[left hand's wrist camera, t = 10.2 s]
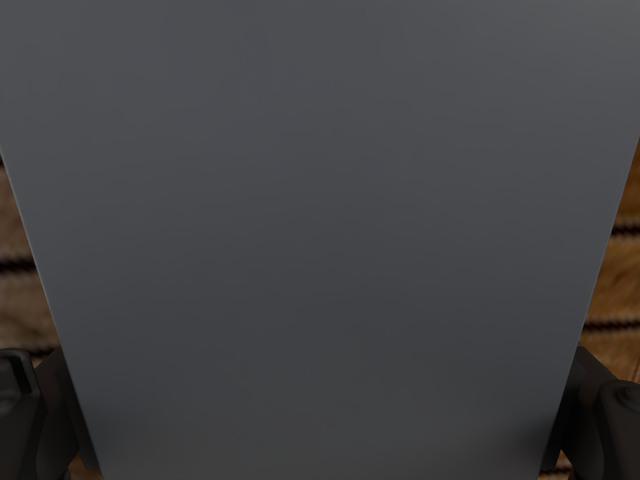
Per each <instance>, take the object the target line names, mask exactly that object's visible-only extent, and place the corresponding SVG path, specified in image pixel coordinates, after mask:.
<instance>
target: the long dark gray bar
mask: <svg viewBox="0 0 640 480" xmlns="http://www.w3.org/2000/svg"><path fill="white" fill-rule="evenodd" d="M639 136H640V0H0V153H1V156H2V159H3V162H4V166H5V169H6V172H7V175H8V178H9V182H10V185H11V188H12V191H13V194H14V198H15V201H16V204H17V207H18V210H19V213H20V217H21V220H22V223H23V226H24V229H25V233H26V236H27V239H28V242H29V245H30V249H31V252H32V255H33V258H34V261H35V264H36V268H37V271H38V274H39V277H40V280H41V284H42V287H43V290H44V293H45V296H46V299H47V303H48V306H49V309H50V312H51V315H52V319H53V322H54V325H55V328H56V331H57V335H58V338H59V341H60V344H61V347H62V350H63V354H64V357H65V360H66V363H67V366H68V370H69V373H70V376H71V379H72V382H73V385H74V389H75V392H76V395H77V398H78V401H79V405H80V408H81V411H82V414H83V417H84V421H85V424H86V427H87V430H88V433H89V436H90V440H91V443H92V446H93V449H94V452H95V456H96V459H97V462H98V465H99V468H100V472H101V475H102V478H103V480H537V479H538V475H539V472H540V469H541V465H542V462H543V459H544V455H545V452H546V449H547V445H548V442H549V438H550V435H551V432H552V428H553V425H554V422H555V418H556V415H557V412H558V408H559V405H560V402H561V398H562V395H563V391H564V388H565V385H566V381H567V378H568V375H569V371H570V368H571V365H572V361H573V358H574V355H575V351H576V348H577V344H578V341H579V338H580V334H581V331H582V328H583V324H584V321H585V318H586V314H587V311H588V308H589V304H590V301H591V298H592V294H593V291H594V287H595V284H596V281H597V277H598V274H599V271H600V267H601V264H602V261H603V257H604V254H605V251H606V247H607V244H608V240H609V237H610V234H611V230H612V227H613V224H614V220H615V217H616V214H617V210H618V207H619V204H620V200H621V197H622V194H623V190H624V187H625V183H626V180H627V177H628V173H629V170H630V167H631V163H632V160H633V157H634V153H635V150H636V147H637V143H638V140H639Z"/></svg>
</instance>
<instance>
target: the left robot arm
mask: <svg viewBox="0 0 640 480" xmlns="http://www.w3.org/2000/svg"><path fill="white" fill-rule="evenodd" d="M561 449H562V451H563V452H564V454H565V455H566V457H567V458H568V460H569V461H570V463H571V464H572V465H573V466H572V469H571V472H570V475H569V478H568V480H640V384H637V383H634V382H631V381H625V380H619V379H617V378H616V377H615V376H614V375H613V374H612V373H611V372H610V371H609V370H608V369H607V368H606V367H605V366H603V365H602V364H601V363H600V362H599V361H598V360H597V359H596V358H595V357H594V356H593V355H592V354H591V353H590V352H589V351H588V350H587V349H586V348H584V347H583V346H581V345H580V343H579V342H578V344H577V348H576V351H575V355H574V358H573V361H572V365H571V368H570V371H569V375H568V378H567V381H566V385H565V388H564V391H563V395H562V398H561V402H560V405H559V408H558V412H557V415H556V418H555V422H554V425H553V428H552V432H551V435H550V438H549V442H548V445H547V449H546V452H545V455H544V459H543V462H542V465H541V469H555V466H556V463H557V460H558V457H559V454H560V451H561ZM78 451H79V452H80V455H81V458H82V461H83V464H84V467H85V469H100V468H99V465H98V462H97V459H96V456H95V452H94V449H93V446H92V443H91V440H90V436H89V433H88V430H87V427H86V424H85V421H84V417H83V414H82V411H81V408H80V405H79V401H78V398H77V395H76V392H75V389H74V385H73V382H72V379H71V376H70V373H69V370H68V366H67V363H66V360H65V357H64V354H63V350H62V347H61V344H60V346H59V348H56V349H55V350H54V351H53V352H52V353H51V354H50V355H49V356H48V357H47V358H46V359H45V360H43V361H42V362H41V363H40V364H39V365H38V366H37V367H36V368H35V369H34V367H33V364H32V362H31V359H30V356H29V353H28V352H26V351H25V350H23V349H18V348H6V349H0V480H71V476H70V472H69V469H68V466H69V464H70V463H71V461H72V460H73V458H74V457H75V455H76V454H77V452H78Z"/></svg>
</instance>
